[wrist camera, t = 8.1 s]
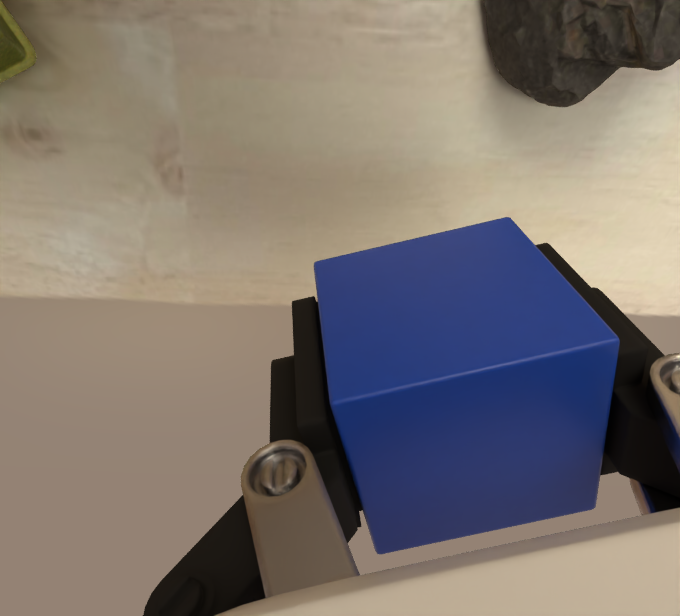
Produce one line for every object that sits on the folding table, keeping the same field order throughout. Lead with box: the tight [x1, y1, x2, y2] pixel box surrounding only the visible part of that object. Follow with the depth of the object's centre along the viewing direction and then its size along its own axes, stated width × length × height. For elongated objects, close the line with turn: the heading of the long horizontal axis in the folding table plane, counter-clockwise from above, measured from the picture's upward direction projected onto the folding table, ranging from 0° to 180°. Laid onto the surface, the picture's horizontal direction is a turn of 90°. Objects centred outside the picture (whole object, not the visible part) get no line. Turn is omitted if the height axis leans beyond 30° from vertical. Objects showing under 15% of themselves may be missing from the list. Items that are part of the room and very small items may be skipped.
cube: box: [314, 217, 620, 554], centre depth 11 cm, size 4×4×4 cm
